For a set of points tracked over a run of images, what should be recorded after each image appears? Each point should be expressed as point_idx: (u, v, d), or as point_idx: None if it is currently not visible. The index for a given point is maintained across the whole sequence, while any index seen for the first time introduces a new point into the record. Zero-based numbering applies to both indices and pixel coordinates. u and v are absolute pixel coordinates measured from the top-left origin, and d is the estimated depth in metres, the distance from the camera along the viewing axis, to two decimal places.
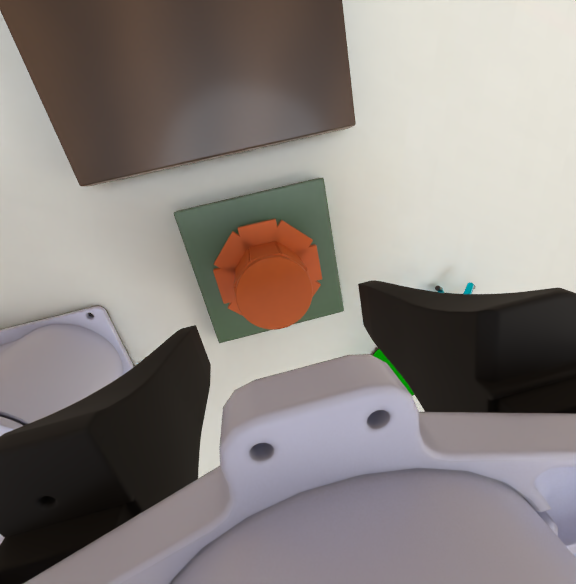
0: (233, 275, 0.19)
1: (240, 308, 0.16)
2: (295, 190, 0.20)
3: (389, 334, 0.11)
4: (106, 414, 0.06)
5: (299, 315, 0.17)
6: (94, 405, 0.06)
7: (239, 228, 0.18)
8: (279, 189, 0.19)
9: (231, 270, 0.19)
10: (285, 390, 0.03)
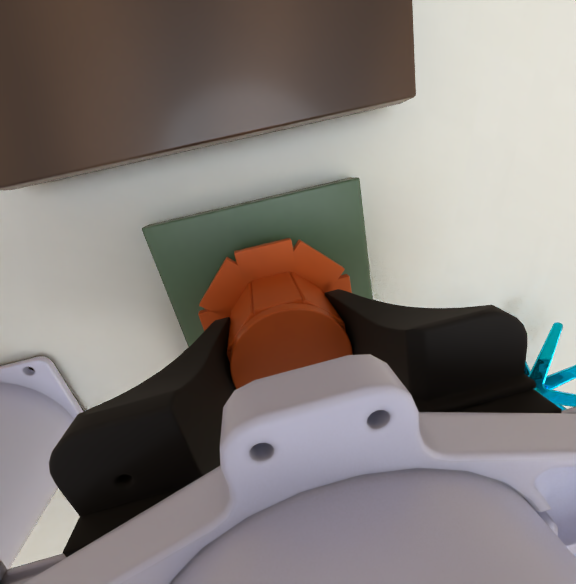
0: None
1: (237, 386, 0.10)
2: (319, 195, 0.14)
3: None
4: (180, 394, 0.06)
5: None
6: (160, 388, 0.06)
7: (237, 253, 0.12)
8: (296, 194, 0.13)
9: (224, 313, 0.13)
10: (285, 390, 0.03)
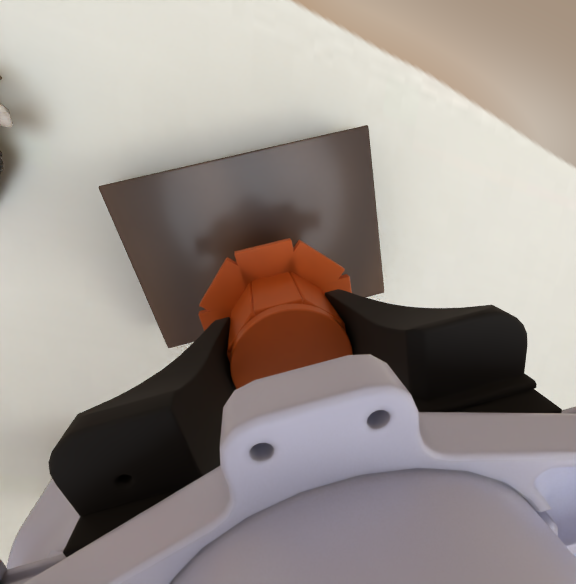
0: None
1: (238, 387, 0.10)
2: None
3: None
4: (180, 394, 0.06)
5: None
6: (160, 388, 0.06)
7: (237, 253, 0.12)
8: None
9: (224, 314, 0.13)
10: (285, 390, 0.03)
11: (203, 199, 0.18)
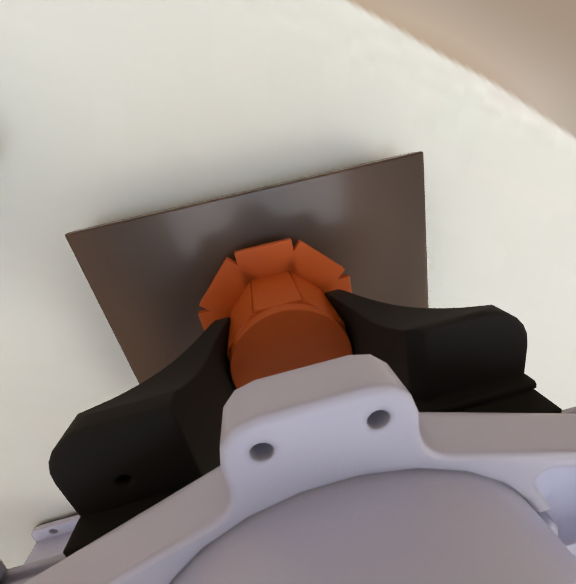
0: None
1: (237, 386, 0.10)
2: None
3: None
4: (180, 395, 0.06)
5: None
6: (160, 388, 0.06)
7: (237, 253, 0.12)
8: None
9: (225, 314, 0.13)
10: (285, 390, 0.03)
11: (205, 248, 0.13)
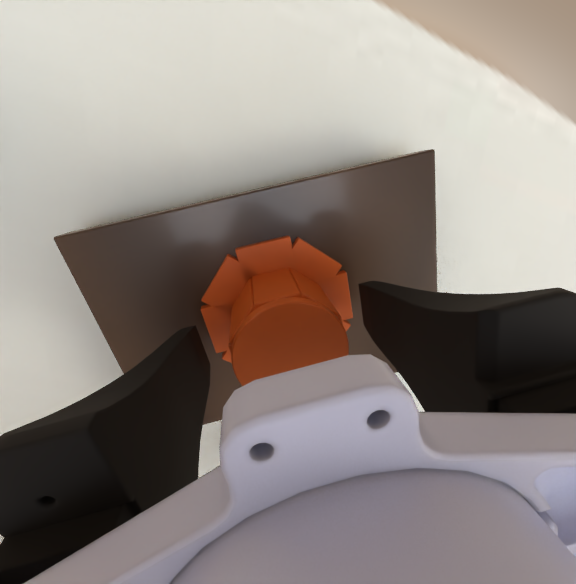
0: (229, 315, 0.13)
1: (239, 377, 0.10)
2: None
3: (389, 334, 0.11)
4: (106, 414, 0.06)
5: None
6: (94, 405, 0.06)
7: (237, 250, 0.13)
8: None
9: (226, 308, 0.13)
10: (285, 390, 0.03)
11: (203, 252, 0.13)
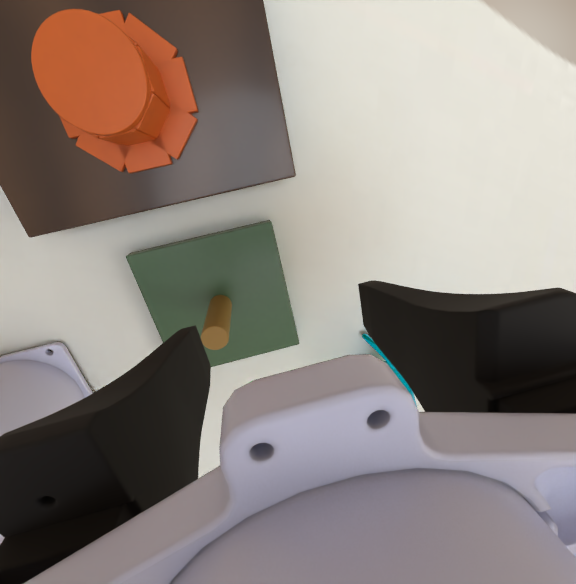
0: None
1: (43, 93, 0.12)
2: (244, 233, 0.20)
3: (389, 334, 0.11)
4: (106, 414, 0.06)
5: (133, 114, 0.12)
6: (94, 405, 0.06)
7: None
8: (228, 233, 0.20)
9: None
10: (285, 390, 0.03)
11: None
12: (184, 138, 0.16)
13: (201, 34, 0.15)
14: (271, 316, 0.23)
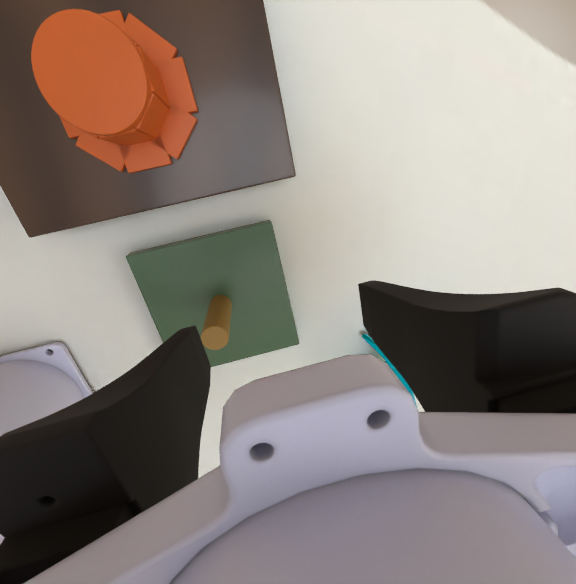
0: None
1: (43, 93, 0.12)
2: (244, 233, 0.20)
3: (389, 334, 0.11)
4: (106, 414, 0.06)
5: (133, 113, 0.12)
6: (94, 405, 0.06)
7: None
8: (228, 233, 0.20)
9: None
10: (285, 390, 0.03)
11: None
12: (184, 138, 0.16)
13: (201, 34, 0.15)
14: (271, 316, 0.23)
